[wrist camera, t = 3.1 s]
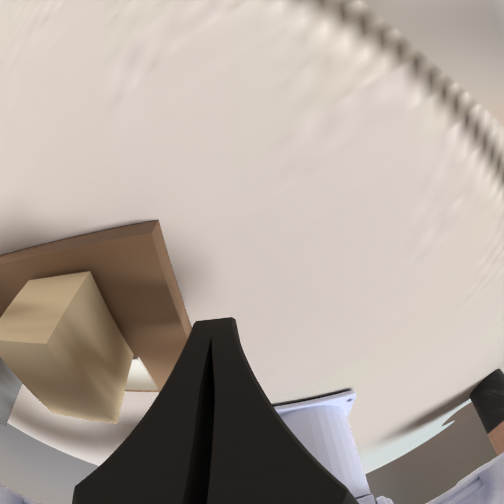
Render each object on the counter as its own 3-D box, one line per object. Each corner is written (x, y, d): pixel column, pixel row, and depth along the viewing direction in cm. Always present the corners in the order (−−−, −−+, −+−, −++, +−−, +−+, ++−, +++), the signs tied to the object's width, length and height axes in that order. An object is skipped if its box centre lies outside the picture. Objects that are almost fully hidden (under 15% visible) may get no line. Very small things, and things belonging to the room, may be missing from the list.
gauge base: (209, 374, 15) (210, 467, 10) (16, 365, 15) (-7, 419, 9) (158, 220, 10) (101, 336, 5) (-44, 269, 10) (-88, 321, 4)
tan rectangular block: (152, 383, 13) (143, 445, 10) (95, 381, 13) (80, 435, 10) (90, 271, 9) (46, 343, 6) (28, 280, 9) (-14, 338, 6)
